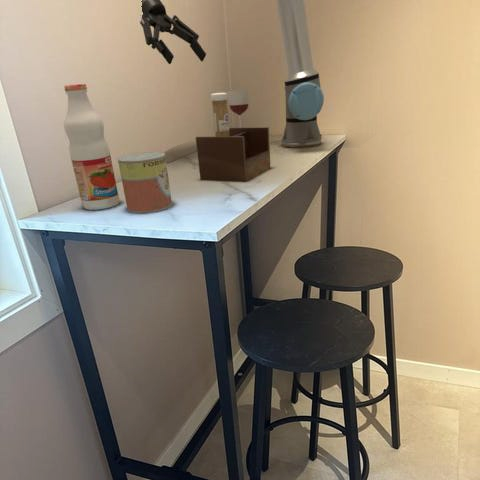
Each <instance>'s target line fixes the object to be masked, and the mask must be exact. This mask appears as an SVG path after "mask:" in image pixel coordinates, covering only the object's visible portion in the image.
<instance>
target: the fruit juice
mask: <svg viewBox="0 0 480 480" xmlns="http://www.w3.org/2000/svg"><path fill="white" fill-rule="evenodd" d="M63 87H64V92H65V94H66V96H67V111H66V116H65V118H64V121H63V128H64V132H65V135H66V136H67V138H68V141H69V145H68V150H69V156H70V160H71V164H72V168H73V172H74V175H75V176H74V177H75V181H76V185H77V189H78V194H79V197H80V202H81V205H82V206H83V208H84V209H85V210H88V211H89V210H90V211H94V210H95V211H97V210H105V209H110V208H114V207H115V206H118V205H119V203H120V197H119V190H118V186H117V181H116V176H115V171H114V166H113V162H112V157H111V151H110V147H109V144H108V142H107V140H106V139H105V125H104V122H103V121H104V120H103V119H102V117H101V116H100V115H99V114H98V112H96V110H95V108H94V107H93V105H92V103H91V101H90V99H89V98H88V97H89V96H88V94H87V93H88V87H87V85H86V83H80V84H79V83H78V84H67V85H64V86H63Z"/></svg>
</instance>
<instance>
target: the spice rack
mask: <svg viewBox="0 0 480 480" xmlns="http://www.w3.org/2000/svg"><path fill="white" fill-rule="evenodd" d="M229 135H230V136H222V137H216V136H196V137H195V144H196V151H197V161H198V171H199V179H200V181H216V182H217V181H219V182H241V183H242V182H244V183H246V182H247V181H250V180H251V179H253V178H255V177H257V176H259V175H260V174H262V173H264V172H266V171H268V170H270V169H271V145H270V144H271V143H270V127H269V126H262V127H260V126H255V127H254V126H252V127H249V126H248V127H241V128H240V127H229Z"/></svg>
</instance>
